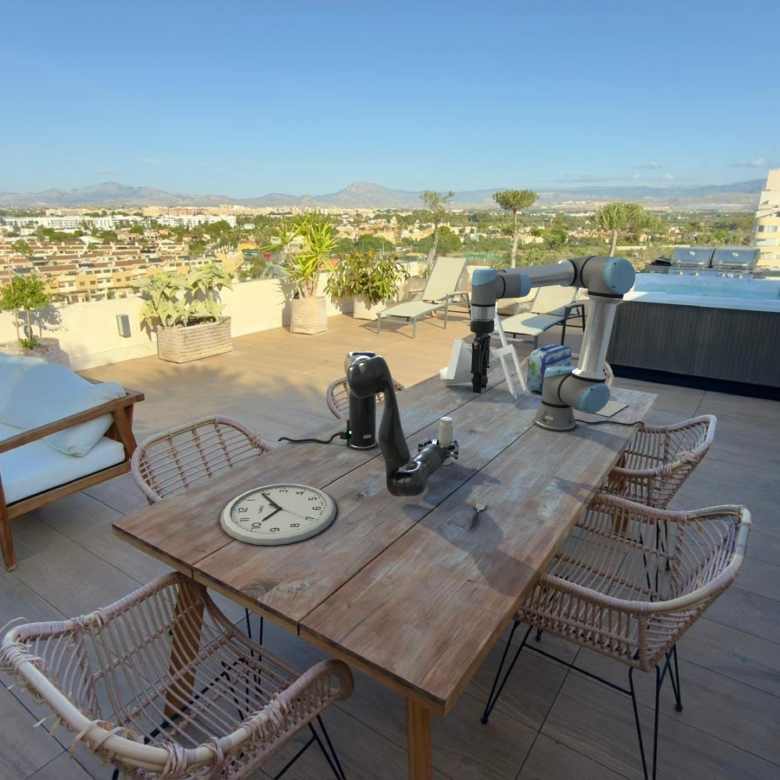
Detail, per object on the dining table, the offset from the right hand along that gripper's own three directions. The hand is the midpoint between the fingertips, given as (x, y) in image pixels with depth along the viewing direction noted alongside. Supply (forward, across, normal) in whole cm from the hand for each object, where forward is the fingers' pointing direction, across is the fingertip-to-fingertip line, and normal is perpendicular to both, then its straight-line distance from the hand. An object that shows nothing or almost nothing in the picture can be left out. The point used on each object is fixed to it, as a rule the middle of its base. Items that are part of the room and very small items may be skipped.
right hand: (479, 389), depth 170 cm
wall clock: (+21, +62, -36) cm, 74 cm away
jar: (+22, +12, -7) cm, 26 cm away
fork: (+22, +39, +12) cm, 47 cm away
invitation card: (+25, -73, +34) cm, 84 cm away
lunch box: (+25, -88, +9) cm, 92 cm away
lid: (-4, 0, 0) cm, 4 cm away
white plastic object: (+24, -68, -18) cm, 74 cm away
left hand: (+16, +9, -7) cm, 19 cm away
